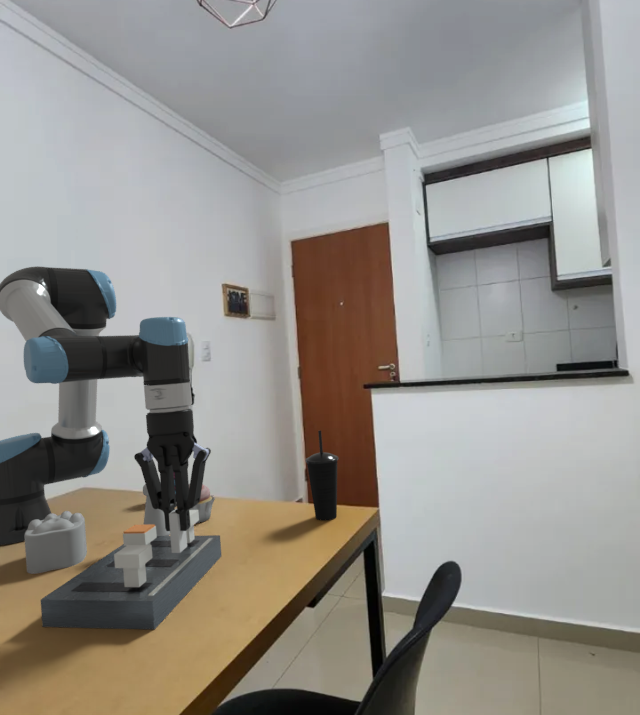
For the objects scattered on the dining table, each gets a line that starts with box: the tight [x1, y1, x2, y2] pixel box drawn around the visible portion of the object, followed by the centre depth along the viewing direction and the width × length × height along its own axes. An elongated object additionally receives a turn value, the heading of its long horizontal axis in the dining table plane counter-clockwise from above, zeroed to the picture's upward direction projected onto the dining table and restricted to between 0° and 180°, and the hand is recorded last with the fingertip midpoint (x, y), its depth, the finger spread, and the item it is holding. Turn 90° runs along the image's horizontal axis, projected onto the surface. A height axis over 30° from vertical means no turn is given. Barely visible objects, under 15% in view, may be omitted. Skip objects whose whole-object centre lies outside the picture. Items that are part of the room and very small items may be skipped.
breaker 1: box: [114, 545, 152, 587], centre depth 72 cm, size 4×4×5 cm
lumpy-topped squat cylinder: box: [24, 510, 88, 575], centre depth 98 cm, size 10×13×9 cm
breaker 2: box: [186, 510, 199, 543], centre depth 89 cm, size 4×4×5 cm
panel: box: [40, 534, 222, 630], centre depth 81 cm, size 18×25×4 cm
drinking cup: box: [304, 430, 339, 522], centre depth 110 cm, size 8×8×20 cm
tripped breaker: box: [122, 524, 157, 546], centre depth 81 cm, size 4×4×6 cm
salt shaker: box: [142, 481, 170, 536], centre depth 101 cm, size 6×6×13 cm
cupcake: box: [176, 483, 216, 524], centre depth 116 cm, size 9×9×10 cm
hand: (179, 549), depth 80 cm, fingers closed
